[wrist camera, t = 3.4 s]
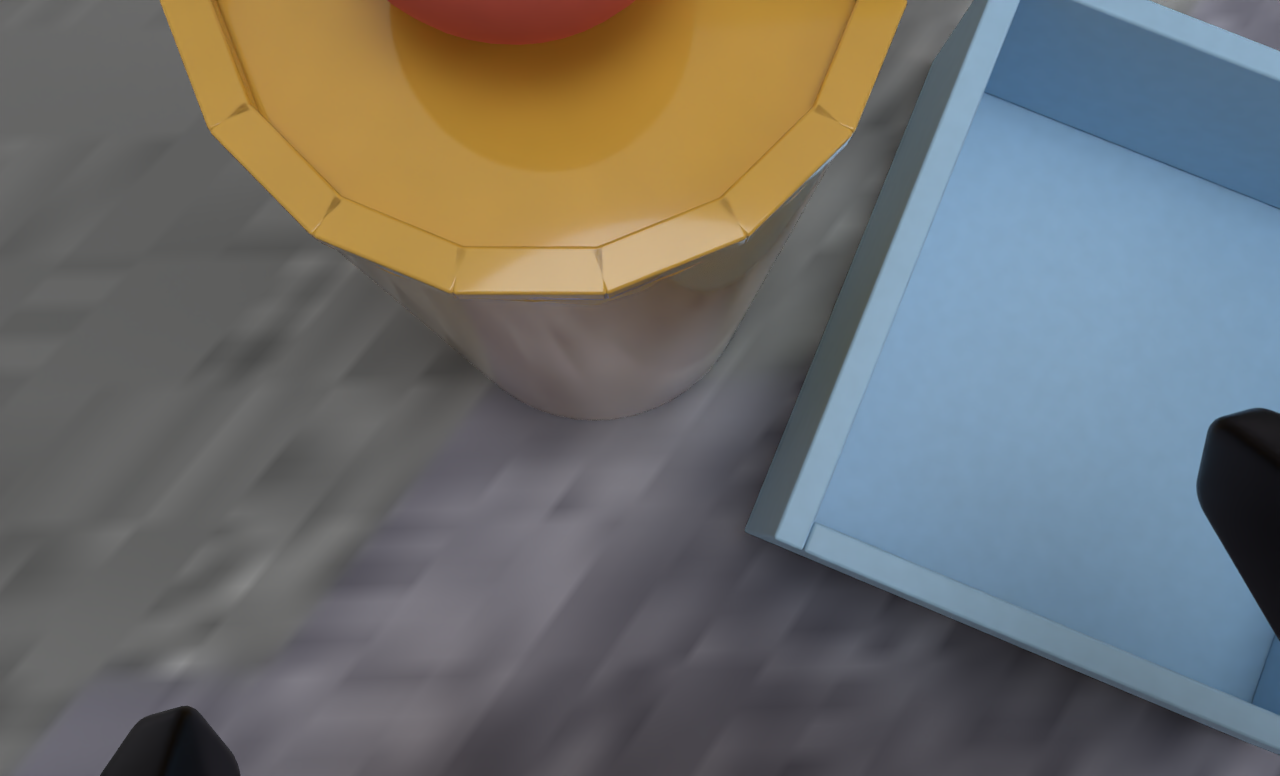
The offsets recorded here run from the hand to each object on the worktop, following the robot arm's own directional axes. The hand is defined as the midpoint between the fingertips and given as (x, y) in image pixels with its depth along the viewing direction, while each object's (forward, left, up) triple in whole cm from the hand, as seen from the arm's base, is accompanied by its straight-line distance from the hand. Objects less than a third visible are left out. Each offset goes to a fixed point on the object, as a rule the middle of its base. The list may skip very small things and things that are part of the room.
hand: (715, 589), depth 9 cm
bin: (-6, -6, -12) cm, 15 cm away
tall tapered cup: (+4, -4, -12) cm, 13 cm away
